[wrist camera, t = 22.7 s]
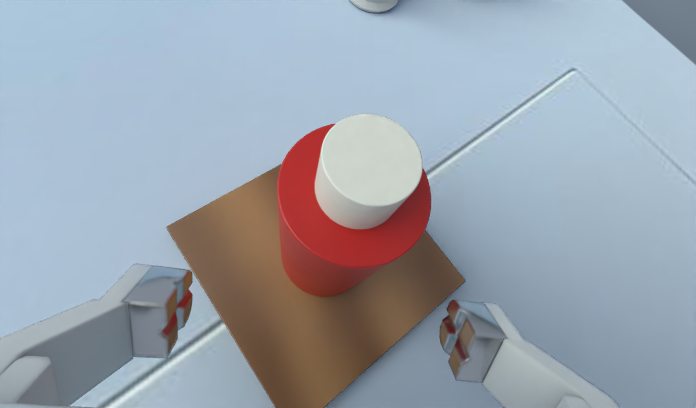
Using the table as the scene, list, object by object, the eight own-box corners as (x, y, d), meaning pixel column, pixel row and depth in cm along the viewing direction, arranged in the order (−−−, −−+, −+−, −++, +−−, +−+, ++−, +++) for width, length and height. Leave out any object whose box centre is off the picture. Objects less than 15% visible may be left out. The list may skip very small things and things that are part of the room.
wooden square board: (292, 432, 15) (292, 435, 15) (168, 229, 18) (165, 226, 17) (461, 281, 20) (466, 280, 19) (344, 132, 22) (345, 128, 21)
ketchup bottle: (356, 206, 20) (431, 74, 9) (376, 286, 18) (490, 233, 8) (275, 218, 18) (261, 84, 8) (288, 305, 17) (292, 272, 7)
